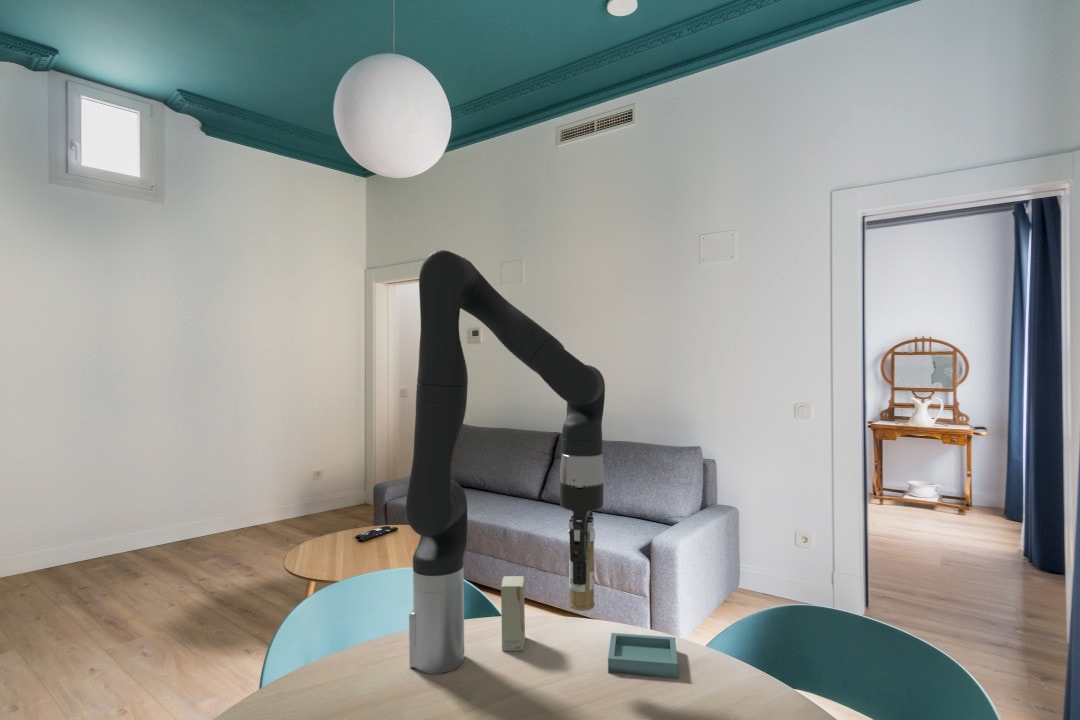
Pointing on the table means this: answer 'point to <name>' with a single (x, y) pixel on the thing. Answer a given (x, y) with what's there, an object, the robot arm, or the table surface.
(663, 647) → the tray
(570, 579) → the sprinkles bottle
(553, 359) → the robot arm
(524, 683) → the table surface
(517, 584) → the skincare box
